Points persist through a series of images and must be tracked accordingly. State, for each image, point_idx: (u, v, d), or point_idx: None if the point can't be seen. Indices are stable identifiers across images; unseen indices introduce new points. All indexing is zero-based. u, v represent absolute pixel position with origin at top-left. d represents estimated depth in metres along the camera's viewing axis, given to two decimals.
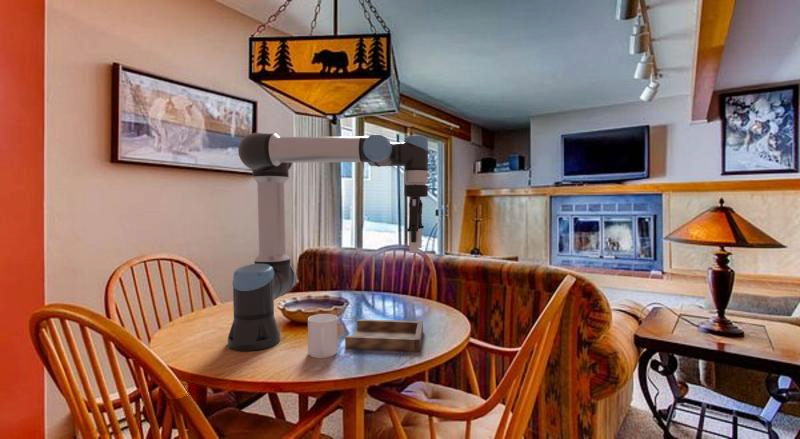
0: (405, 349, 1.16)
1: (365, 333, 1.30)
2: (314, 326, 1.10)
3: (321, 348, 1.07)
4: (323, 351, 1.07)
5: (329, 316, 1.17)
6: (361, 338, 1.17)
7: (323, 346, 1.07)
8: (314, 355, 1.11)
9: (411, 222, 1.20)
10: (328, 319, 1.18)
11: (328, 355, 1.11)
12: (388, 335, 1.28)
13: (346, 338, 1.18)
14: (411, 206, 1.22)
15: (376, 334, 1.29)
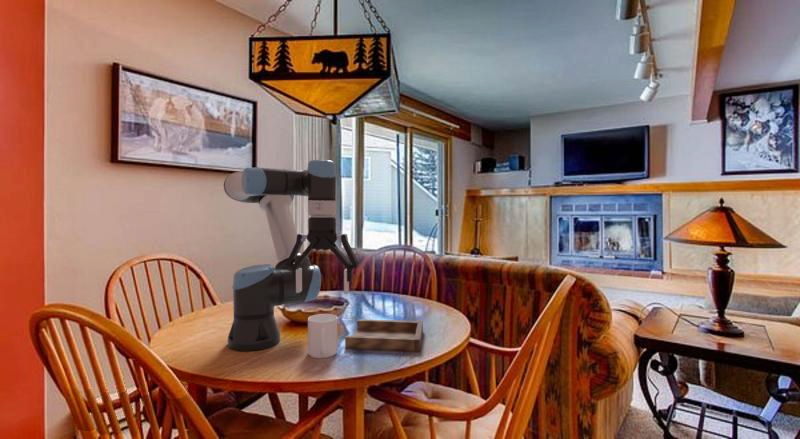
0: (405, 349, 1.16)
1: (365, 333, 1.30)
2: (314, 326, 1.10)
3: (321, 348, 1.07)
4: (323, 351, 1.07)
5: (329, 316, 1.17)
6: (361, 338, 1.17)
7: (323, 346, 1.07)
8: (314, 355, 1.11)
9: None
10: (328, 319, 1.18)
11: (328, 355, 1.11)
12: (388, 335, 1.28)
13: (346, 338, 1.18)
14: None
15: (376, 334, 1.29)
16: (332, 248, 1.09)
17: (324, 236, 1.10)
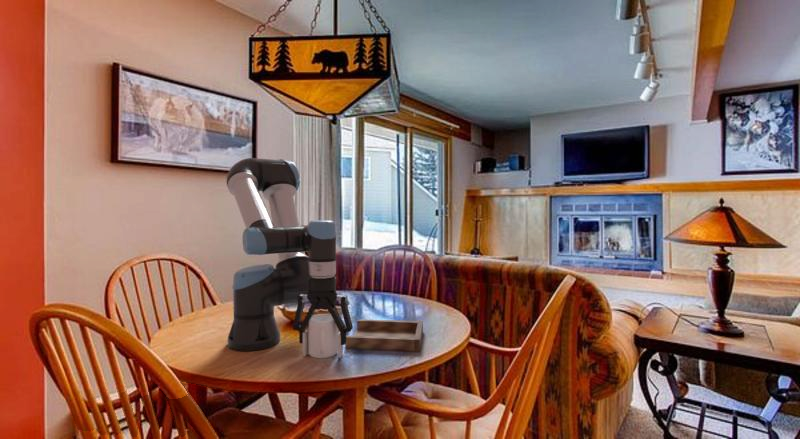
0: (405, 349, 1.16)
1: (365, 333, 1.30)
2: (314, 326, 1.10)
3: (321, 348, 1.07)
4: (323, 351, 1.07)
5: (330, 316, 1.17)
6: (361, 338, 1.17)
7: (323, 346, 1.07)
8: (314, 355, 1.11)
9: None
10: (328, 319, 1.18)
11: (328, 355, 1.11)
12: (388, 335, 1.28)
13: (346, 338, 1.18)
14: None
15: (376, 334, 1.29)
16: (330, 310, 1.10)
17: (325, 294, 1.10)
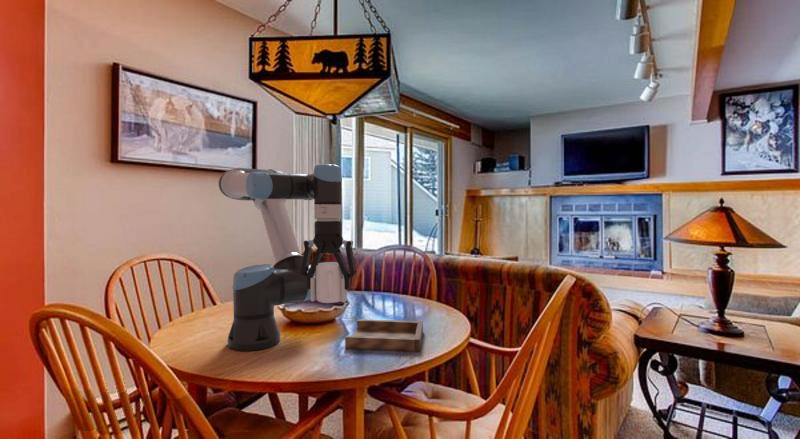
0: (405, 349, 1.16)
1: (365, 333, 1.30)
2: (321, 271, 1.10)
3: (328, 290, 1.07)
4: (330, 294, 1.07)
5: (337, 264, 1.18)
6: (361, 338, 1.17)
7: (330, 288, 1.07)
8: (322, 300, 1.11)
9: None
10: None
11: (336, 300, 1.11)
12: (388, 335, 1.28)
13: (346, 338, 1.18)
14: None
15: (376, 334, 1.29)
16: (335, 253, 1.10)
17: (330, 238, 1.11)
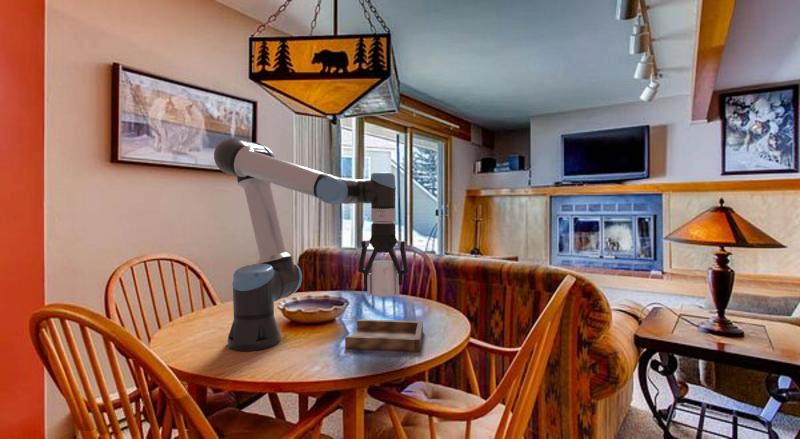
0: (405, 349, 1.16)
1: (365, 333, 1.30)
2: (378, 268, 1.23)
3: (386, 286, 1.19)
4: (388, 288, 1.20)
5: (388, 262, 1.30)
6: (361, 338, 1.17)
7: (388, 284, 1.19)
8: (378, 294, 1.23)
9: None
10: None
11: (391, 294, 1.24)
12: (388, 335, 1.28)
13: (346, 338, 1.18)
14: None
15: (376, 334, 1.29)
16: (391, 252, 1.23)
17: (386, 238, 1.23)
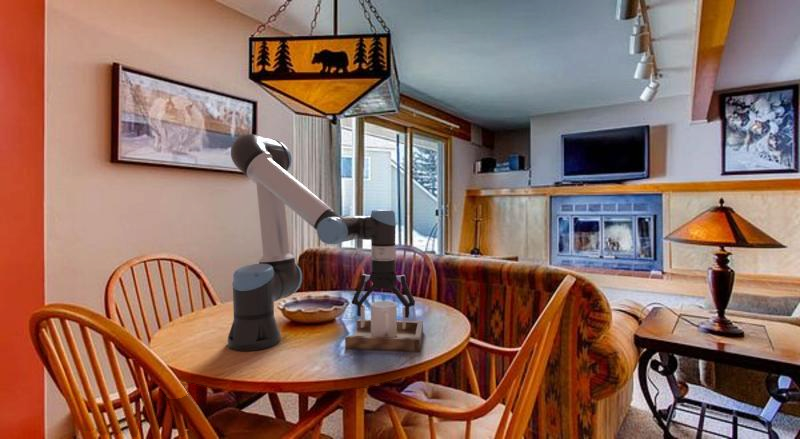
0: (405, 349, 1.16)
1: (365, 333, 1.30)
2: (378, 311, 1.23)
3: (386, 330, 1.20)
4: (387, 333, 1.20)
5: (388, 302, 1.31)
6: (361, 338, 1.17)
7: (388, 328, 1.20)
8: None
9: None
10: (387, 305, 1.31)
11: None
12: None
13: (346, 338, 1.18)
14: None
15: None
16: (393, 288, 1.23)
17: (385, 277, 1.24)
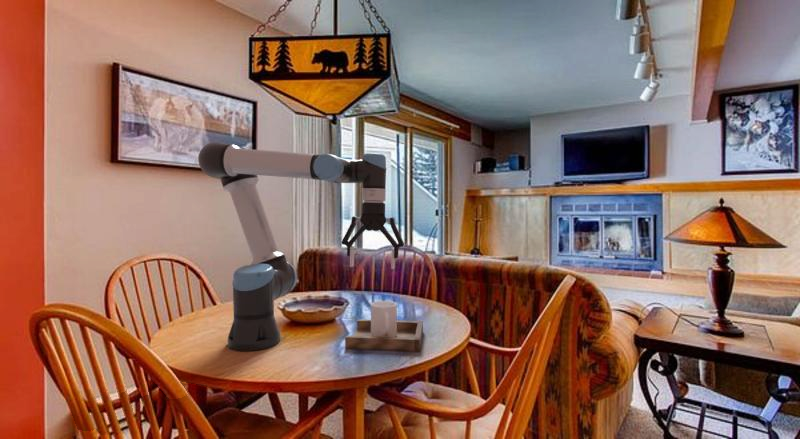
0: (405, 349, 1.16)
1: (365, 333, 1.30)
2: (378, 311, 1.23)
3: (386, 330, 1.20)
4: (387, 333, 1.20)
5: (388, 302, 1.31)
6: (361, 338, 1.17)
7: (388, 328, 1.20)
8: None
9: None
10: (387, 305, 1.31)
11: None
12: None
13: (346, 338, 1.18)
14: None
15: None
16: (382, 229, 1.27)
17: (375, 219, 1.28)
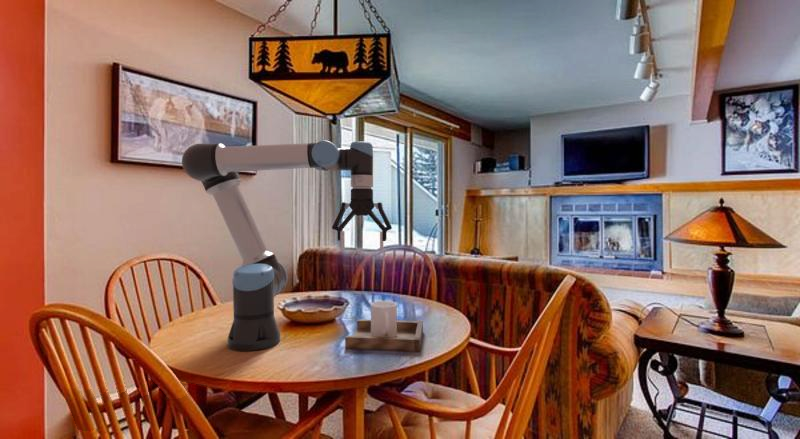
0: (405, 349, 1.16)
1: (365, 333, 1.30)
2: (378, 311, 1.23)
3: (386, 330, 1.20)
4: (387, 333, 1.20)
5: (388, 302, 1.31)
6: (361, 338, 1.17)
7: (388, 328, 1.20)
8: None
9: None
10: (387, 305, 1.31)
11: None
12: None
13: (346, 338, 1.18)
14: None
15: None
16: (370, 214, 1.34)
17: (364, 204, 1.35)
